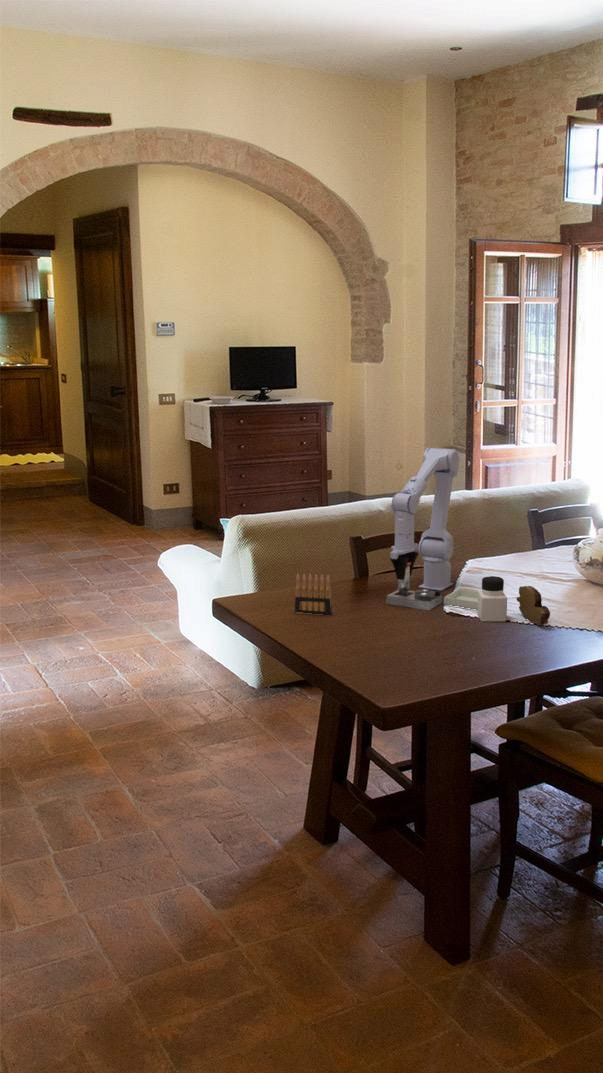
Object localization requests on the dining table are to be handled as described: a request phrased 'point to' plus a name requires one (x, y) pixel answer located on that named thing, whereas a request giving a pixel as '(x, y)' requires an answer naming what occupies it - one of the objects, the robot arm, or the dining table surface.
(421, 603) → the grey fixture block
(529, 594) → the wooden carving
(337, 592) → the dining table surface
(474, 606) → the tray
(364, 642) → the dining table surface
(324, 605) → the ammunition clip
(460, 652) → the dining table surface
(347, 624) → the dining table surface
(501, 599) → the medicine bottle
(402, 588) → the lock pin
